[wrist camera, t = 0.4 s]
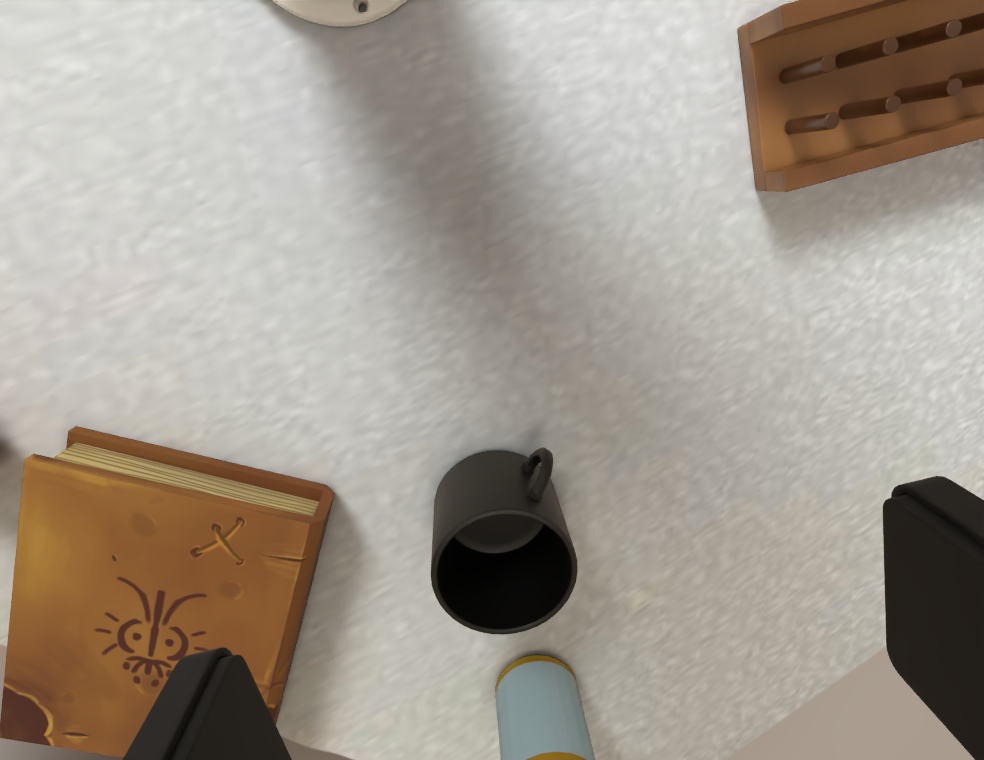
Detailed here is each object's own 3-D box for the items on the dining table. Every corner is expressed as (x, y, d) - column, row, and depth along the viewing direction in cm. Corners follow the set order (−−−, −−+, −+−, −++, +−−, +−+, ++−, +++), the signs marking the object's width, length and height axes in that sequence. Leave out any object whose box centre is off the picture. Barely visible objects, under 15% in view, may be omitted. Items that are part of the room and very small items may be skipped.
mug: (594, 450, 47) (626, 511, 38) (520, 572, 50) (534, 654, 41) (483, 399, 45) (491, 451, 36) (414, 529, 48) (406, 605, 39)
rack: (736, 28, 38) (786, 2, 33) (1021, -52, 38) (1122, -92, 32) (755, 190, 41) (803, 193, 36) (1018, 118, 41) (1109, 109, 35)
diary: (278, 717, 53) (258, 779, 48) (48, 676, 50) (-1, 737, 45) (336, 486, 46) (321, 528, 41) (75, 425, 44) (22, 461, 38)
